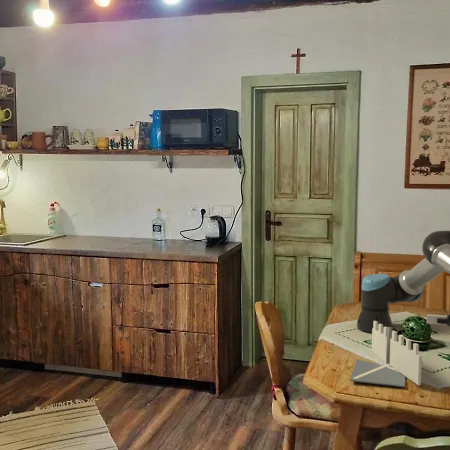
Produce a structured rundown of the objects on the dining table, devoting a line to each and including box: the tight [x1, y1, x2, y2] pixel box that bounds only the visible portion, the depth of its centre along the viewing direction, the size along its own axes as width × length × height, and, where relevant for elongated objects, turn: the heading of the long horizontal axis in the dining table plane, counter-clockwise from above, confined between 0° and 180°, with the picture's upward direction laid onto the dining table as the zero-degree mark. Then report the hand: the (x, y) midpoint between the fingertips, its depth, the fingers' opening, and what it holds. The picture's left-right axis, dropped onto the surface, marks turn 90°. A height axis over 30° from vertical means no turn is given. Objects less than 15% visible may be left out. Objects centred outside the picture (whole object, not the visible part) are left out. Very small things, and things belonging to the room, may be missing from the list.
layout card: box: [349, 358, 406, 388], centre depth 208 cm, size 34×18×1 cm, turn 161°
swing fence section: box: [390, 330, 423, 386], centre depth 198 cm, size 20×1×13 cm, turn 11°
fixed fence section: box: [371, 321, 394, 364], centre depth 215 cm, size 14×2×14 cm, turn 11°
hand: (426, 318), depth 192 cm, fingers closed
